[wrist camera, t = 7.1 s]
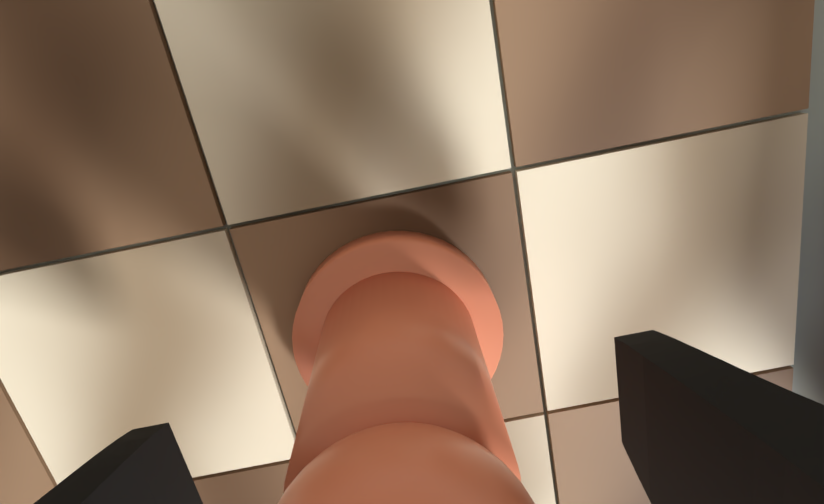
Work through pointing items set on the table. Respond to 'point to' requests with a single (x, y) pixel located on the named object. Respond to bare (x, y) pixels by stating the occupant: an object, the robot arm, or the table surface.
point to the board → (394, 210)
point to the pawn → (400, 380)
